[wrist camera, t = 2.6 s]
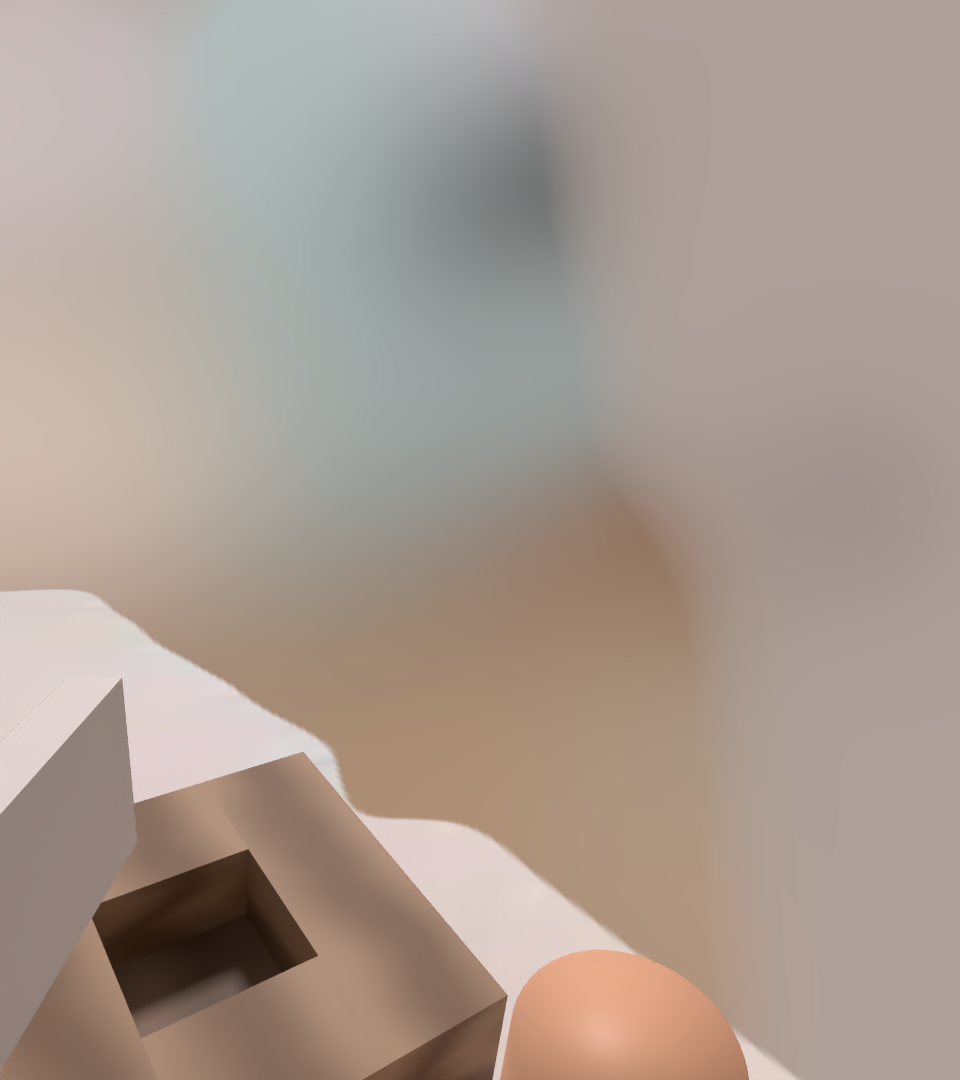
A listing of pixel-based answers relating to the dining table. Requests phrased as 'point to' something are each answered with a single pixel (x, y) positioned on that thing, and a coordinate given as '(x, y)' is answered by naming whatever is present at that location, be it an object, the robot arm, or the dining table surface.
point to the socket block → (263, 952)
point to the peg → (617, 1024)
